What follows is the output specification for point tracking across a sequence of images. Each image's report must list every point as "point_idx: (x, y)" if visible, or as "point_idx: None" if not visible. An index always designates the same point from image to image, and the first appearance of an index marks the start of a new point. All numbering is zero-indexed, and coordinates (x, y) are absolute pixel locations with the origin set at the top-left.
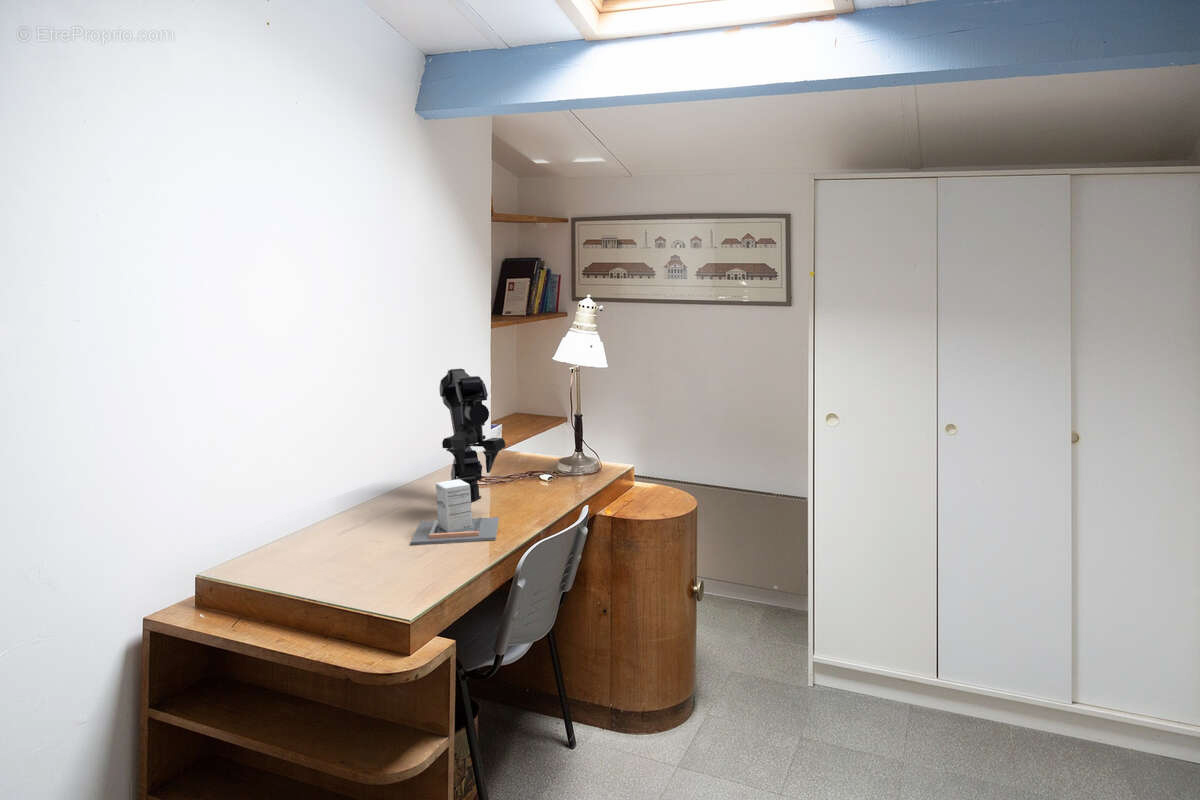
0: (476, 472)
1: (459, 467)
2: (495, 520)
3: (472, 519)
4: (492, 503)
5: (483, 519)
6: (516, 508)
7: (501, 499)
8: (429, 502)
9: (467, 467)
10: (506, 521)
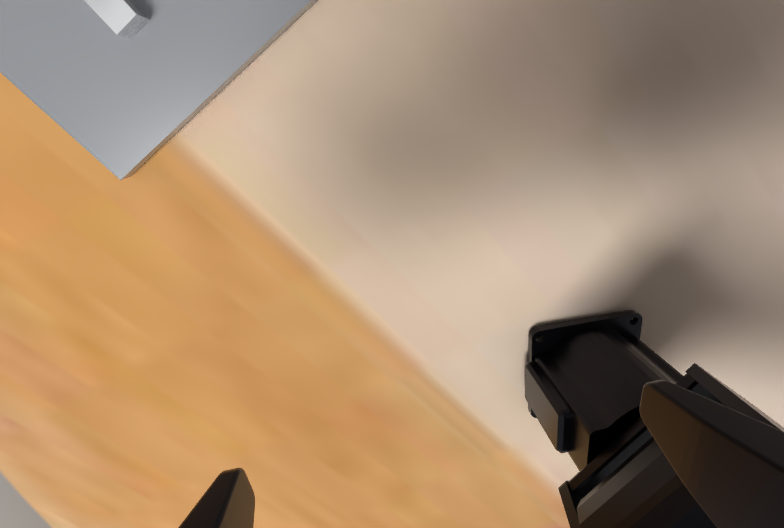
0: (589, 515)
1: (720, 406)
2: (63, 104)
3: (231, 37)
4: (416, 378)
5: (159, 79)
6: (237, 380)
7: (421, 437)
8: (753, 235)
9: (686, 522)
10: (58, 175)
